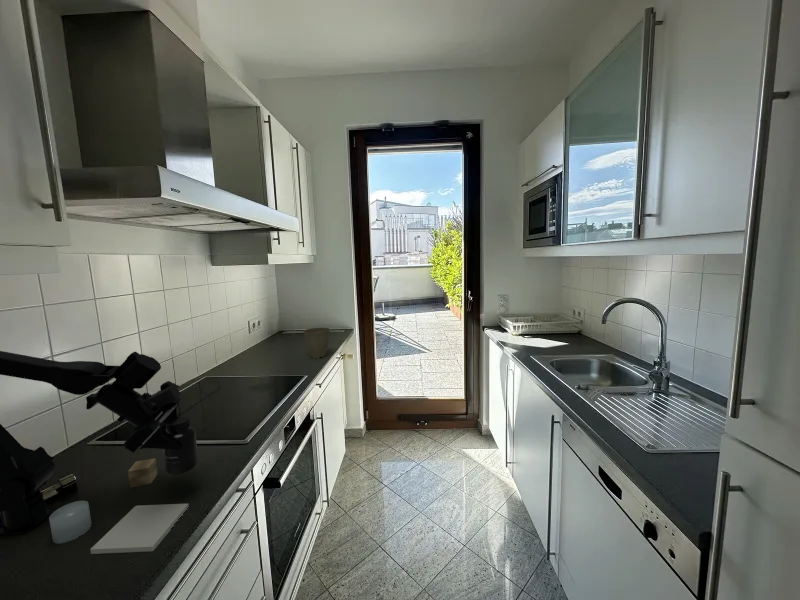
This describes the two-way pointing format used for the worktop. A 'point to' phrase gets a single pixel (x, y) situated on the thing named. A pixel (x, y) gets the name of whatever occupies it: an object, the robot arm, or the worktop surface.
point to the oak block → (142, 472)
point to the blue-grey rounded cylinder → (70, 521)
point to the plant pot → (317, 341)
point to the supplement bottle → (187, 454)
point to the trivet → (140, 529)
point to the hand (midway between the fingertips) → (186, 440)
